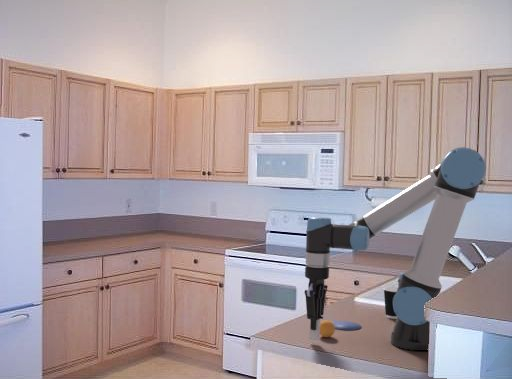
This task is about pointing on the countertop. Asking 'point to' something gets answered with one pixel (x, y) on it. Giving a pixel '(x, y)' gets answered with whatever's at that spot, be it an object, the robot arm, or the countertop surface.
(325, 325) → the ball
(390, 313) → the dixie cup
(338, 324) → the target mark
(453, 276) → the countertop surface
